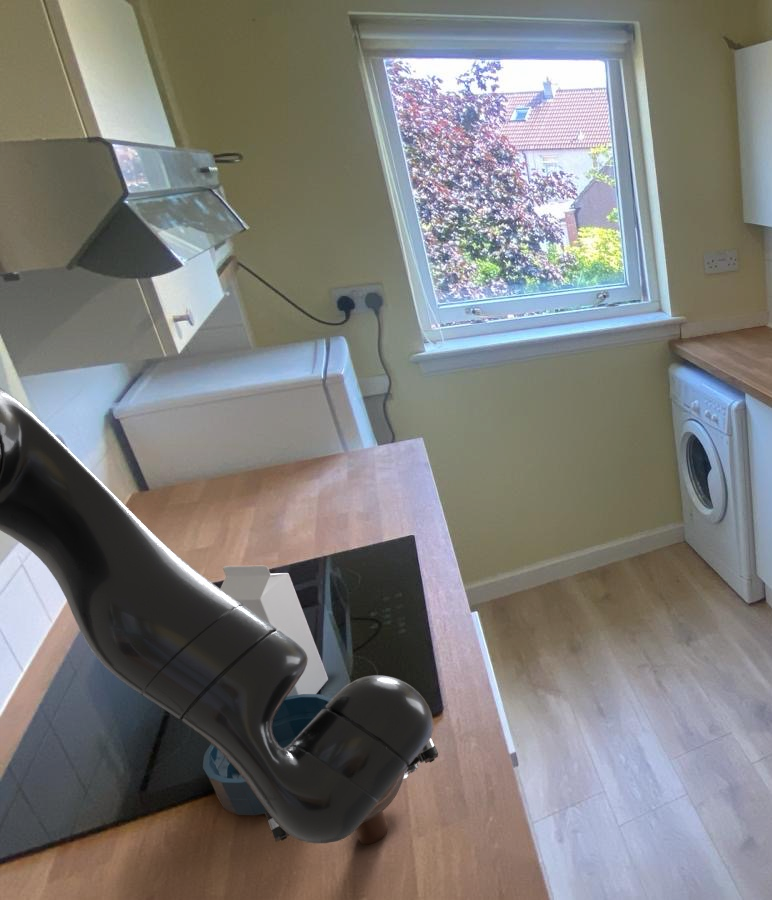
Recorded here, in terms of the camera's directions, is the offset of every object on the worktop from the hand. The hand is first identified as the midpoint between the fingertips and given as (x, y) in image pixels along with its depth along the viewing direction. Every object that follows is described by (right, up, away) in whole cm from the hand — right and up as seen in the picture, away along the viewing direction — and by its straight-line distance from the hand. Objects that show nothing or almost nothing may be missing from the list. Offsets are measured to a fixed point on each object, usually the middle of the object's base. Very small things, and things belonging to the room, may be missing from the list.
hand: (357, 788), depth 75 cm
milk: (-27, 0, +30) cm, 41 cm away
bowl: (-20, -6, +18) cm, 27 cm away
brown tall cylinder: (-4, -9, +9) cm, 14 cm away
